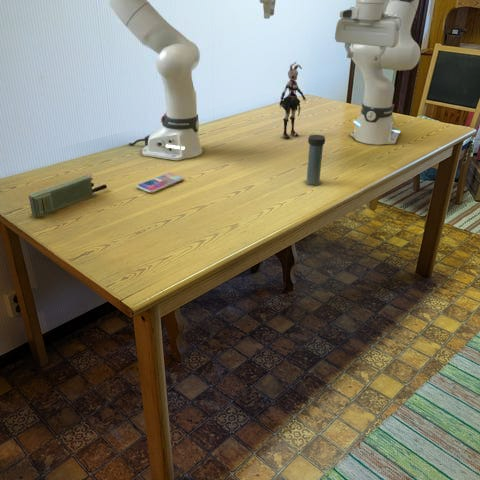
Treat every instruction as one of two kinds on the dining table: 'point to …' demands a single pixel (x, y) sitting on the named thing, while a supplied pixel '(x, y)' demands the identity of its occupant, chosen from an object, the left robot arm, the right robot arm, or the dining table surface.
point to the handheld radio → (62, 195)
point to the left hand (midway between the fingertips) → (268, 16)
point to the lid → (316, 140)
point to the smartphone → (159, 182)
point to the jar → (314, 164)
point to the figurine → (291, 99)
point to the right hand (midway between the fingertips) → (363, 59)
